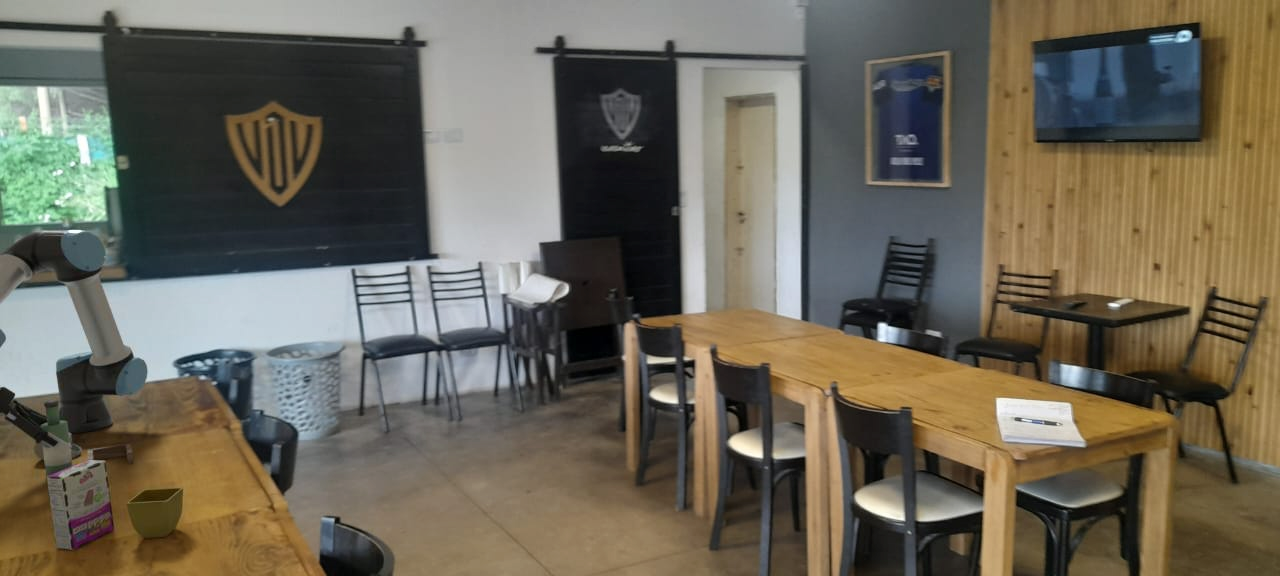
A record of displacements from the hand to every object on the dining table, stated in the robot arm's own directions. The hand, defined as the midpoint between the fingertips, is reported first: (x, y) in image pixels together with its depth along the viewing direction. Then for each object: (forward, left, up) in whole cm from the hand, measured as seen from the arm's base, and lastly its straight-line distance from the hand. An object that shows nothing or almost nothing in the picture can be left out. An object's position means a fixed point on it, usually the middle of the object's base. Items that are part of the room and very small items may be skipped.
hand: (68, 444), depth 245 cm
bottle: (+1, -2, -8) cm, 8 cm away
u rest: (-9, +6, -8) cm, 13 cm away
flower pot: (+43, +44, -8) cm, 62 cm away
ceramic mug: (-15, -12, -8) cm, 21 cm away
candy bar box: (+45, +29, -8) cm, 54 cm away
